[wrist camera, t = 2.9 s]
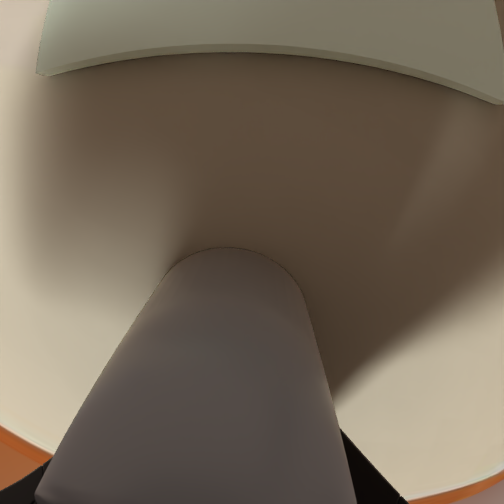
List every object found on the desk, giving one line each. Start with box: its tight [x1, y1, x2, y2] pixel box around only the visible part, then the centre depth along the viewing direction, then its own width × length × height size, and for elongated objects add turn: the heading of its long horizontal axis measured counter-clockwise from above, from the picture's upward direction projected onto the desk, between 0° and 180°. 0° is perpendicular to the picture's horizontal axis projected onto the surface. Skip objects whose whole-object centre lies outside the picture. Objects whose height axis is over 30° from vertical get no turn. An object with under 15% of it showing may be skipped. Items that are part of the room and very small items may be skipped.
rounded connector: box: [34, 248, 357, 504], centre depth 6 cm, size 4×11×6 cm, turn 178°
